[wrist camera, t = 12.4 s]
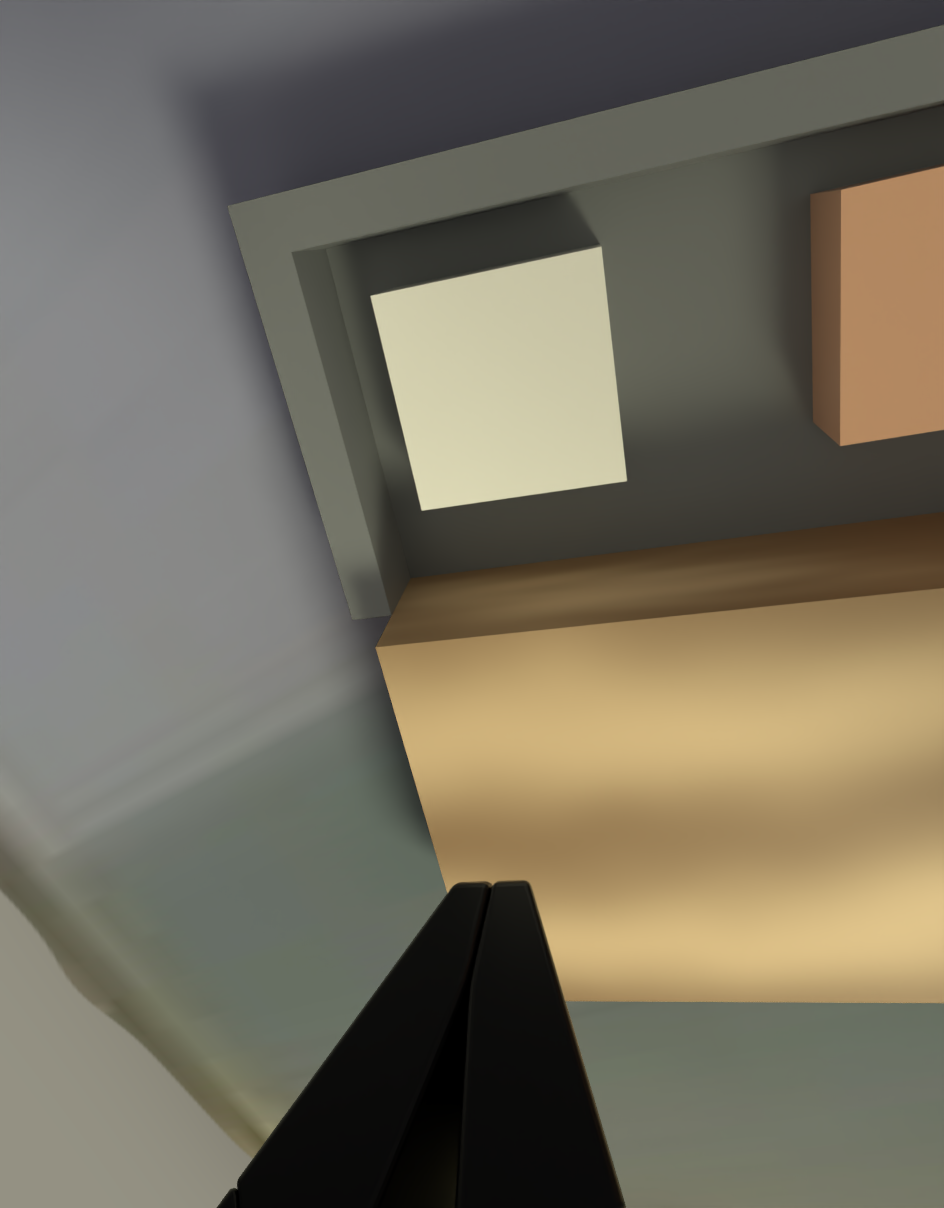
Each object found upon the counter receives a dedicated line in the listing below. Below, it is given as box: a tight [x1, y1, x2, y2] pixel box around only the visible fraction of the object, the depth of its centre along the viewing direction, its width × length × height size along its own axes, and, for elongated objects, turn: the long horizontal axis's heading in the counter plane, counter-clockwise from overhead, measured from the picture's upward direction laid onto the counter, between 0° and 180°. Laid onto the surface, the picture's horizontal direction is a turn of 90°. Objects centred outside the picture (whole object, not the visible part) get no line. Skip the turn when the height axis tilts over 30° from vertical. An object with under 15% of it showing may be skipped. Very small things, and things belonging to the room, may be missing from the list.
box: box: [227, 25, 944, 620], centre depth 15 cm, size 9×18×2 cm, turn 101°
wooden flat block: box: [376, 512, 944, 1003], centre depth 19 cm, size 12×16×4 cm
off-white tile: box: [371, 244, 627, 511], centre depth 16 cm, size 4×4×2 cm
